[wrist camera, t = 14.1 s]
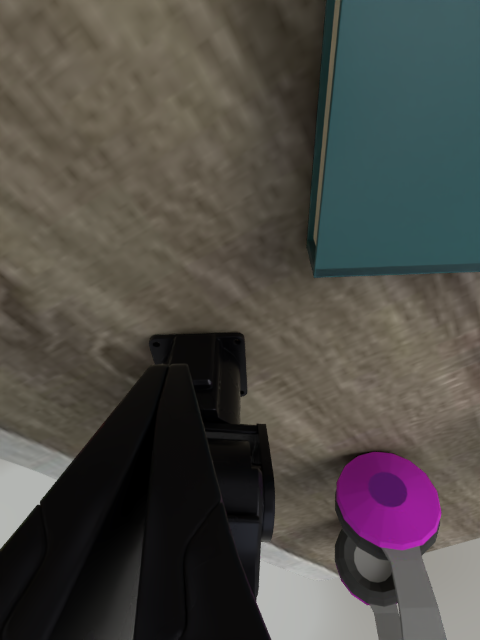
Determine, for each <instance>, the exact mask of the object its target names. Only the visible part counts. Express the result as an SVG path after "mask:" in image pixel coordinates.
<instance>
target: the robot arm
mask: <svg viewBox="0 0 480 640" xmlns="http://www.w3.org/2000/svg"><path fill="white" fill-rule="evenodd" d="M236 339H238V341H237V340H236ZM156 342H158V343H156ZM149 346H150V350H151V353H152V356H153V360H154V363H155V365H151V366H150V367H148V369H147V370H146V371H145V372H144V374H143V375H142V376H141V377H140V379H139V380H138V381H137V382H136V383H135V385H134V386H133V387H132V388H131V390H130V391H129V392H128V393H127V395H126V396H125V397H124V398H123V400H122V401H121V402H120V403H119V405H118V406H117V407H116V408H115V409H114V411H113V412H112V413H111V414H110V416H109V417H108V418H107V419H106V421H105V422H104V423H103V424H102V426H101V427H100V428H99V429H98V430H97V432H96V433H95V434H94V435H93V437H92V438H91V439H90V440H89V442H88V443H87V444H86V445H85V447H84V448H83V449H82V450H81V451H80V453H79V454H78V455H77V456H76V458H75V459H74V460H73V461H72V463H71V464H70V465H69V466H68V468H67V469H66V470H65V471H64V472H63V474H62V475H61V476H60V477H59V479H58V480H57V481H56V482H55V484H54V485H53V486H52V487H51V489H50V490H49V491H48V492H47V493H46V495H45V496H44V497H43V499H42V500H41V501H40V505H37V506H36V507H35V508H34V509H33V511H32V512H31V513H30V514H29V516H28V517H27V518H26V519H25V520H24V522H23V523H22V524H21V525H20V526H19V528H18V529H17V530H16V531H15V533H14V534H13V535H12V536H11V537H10V538H9V540H8V541H7V542H6V543H5V544H4V545H3V547H2V548H1V549H0V640H271V638H270V635H269V633H268V630H267V628H266V626H265V623H264V621H263V618H262V615H261V613H260V611H259V608H258V605H257V603H256V597H257V595H258V588H259V569H260V548H261V542H270V541H271V538H272V534H273V528H274V516H275V487H274V476H273V469H272V462H271V455H270V449H269V442H268V435H267V429H266V424H257V425H246V424H240V397H242V396H245V395H246V394H247V375H246V357H245V338H244V335H243V334H241V333H207V334H175V335H154V336H152V337H151V338H150V341H149Z"/></svg>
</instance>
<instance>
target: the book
mask: <svg viewBox="0 0 480 640" xmlns="http://www.w3.org/2000/svg"><path fill="white" fill-rule="evenodd" d="M306 248H307V251H308V255H309V259H310V263H311V267H312V271H313V276H314V278H320V277H347V276H375V275H403V274H431V273H458V272H480V0H326V6H325V19H324V31H323V44H322V57H321V69H320V82H319V94H318V107H317V119H316V132H315V144H314V157H313V169H312V182H311V195H310V207H309V220H308V232H307V245H306Z"/></svg>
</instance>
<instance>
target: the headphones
mask: <svg viewBox="0 0 480 640" xmlns="http://www.w3.org/2000/svg"><path fill="white" fill-rule="evenodd" d="M335 510H336V513H337V516H338V518H339V521H340V523H341V526H342V528H343V529H342V530H341V532H340V534H339V536H338V539H337V541H336V544H335V563H336V566H337V569H338V572H339V575H340V578H341V581H342V582H343V584H344V585H345V586H346V588H347V589H348V590H349V591H350V593H351V594H352V595H353V596H354V597H356V598H357V599H359V600H360V601H362V602H363V603H365V604H366V605H370V606H371V608H372V610H373V612H374V615H375V621H376V626H377V632H378V637H379V640H447V639H446V635H445V632H444V628H443V624H442V620H441V616H440V612H439V609H438V605H437V602H436V599H435V596H434V593H433V590H432V587H431V584H430V581H429V577H428V574H427V571H426V569H425V565H424V562H423V559H422V555H423V554H424V553H425V552H426V551H427V550H428V549H429V548H430V547H431V546H432V545H433V544H434V543H435V541H436V537H437V534H438V530H439V526H440V517H441V508H440V503H439V498H438V493H437V491H436V489H435V487H434V486H433V484H432V483H431V481H430V480H429V478H428V476H427V475H426V473H424V472H423V471H422V470H421V469H419V468H418V467H417V466H416V465H415V464H413V463H412V462H411V461H409V460H407V459H404V458H402V457H400V456H397V455H395V454H392V453H382V452H371V453H368V454H364V455H360V456H357V457H356V458H355V459H353V460H352V461H351V462H350V463H348V464H347V465H346V466H345V467H344V469H343V471H342V473H341V475H340V477H339V479H338V481H337V489H336V494H335ZM397 603H398V606H399V614H400V617H399V614H398V609H397V605H396V604H397Z"/></svg>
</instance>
